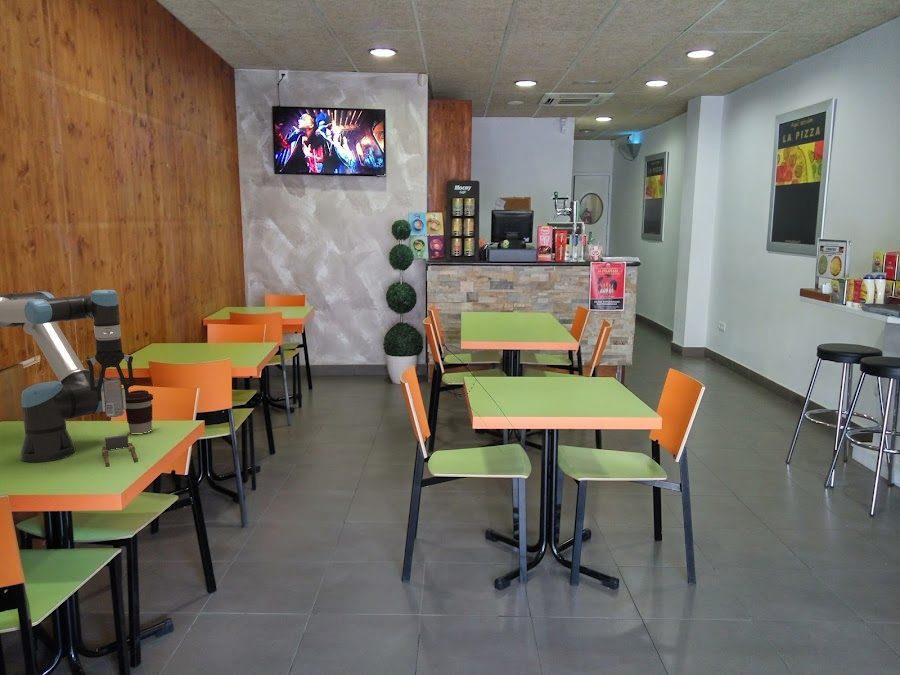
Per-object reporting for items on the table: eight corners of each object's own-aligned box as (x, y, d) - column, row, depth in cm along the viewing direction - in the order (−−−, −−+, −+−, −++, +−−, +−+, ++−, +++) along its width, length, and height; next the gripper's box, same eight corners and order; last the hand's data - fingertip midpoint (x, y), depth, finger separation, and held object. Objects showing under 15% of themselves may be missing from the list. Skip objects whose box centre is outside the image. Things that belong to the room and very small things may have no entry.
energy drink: (117, 412, 230) (114, 376, 228) (127, 414, 227) (124, 378, 225) (102, 416, 225) (98, 379, 223) (112, 418, 222) (109, 381, 221)
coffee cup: (134, 429, 257) (130, 389, 255) (160, 428, 257) (157, 388, 255) (120, 436, 247) (116, 395, 245) (148, 436, 247) (144, 394, 245)
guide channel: (105, 467, 213) (104, 462, 213) (101, 450, 231) (100, 446, 231) (139, 461, 218) (138, 457, 218) (132, 445, 235) (132, 441, 235)
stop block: (106, 450, 231) (105, 439, 230) (105, 449, 232) (104, 437, 232) (128, 447, 234) (127, 435, 233) (128, 445, 236) (127, 434, 235)
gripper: (75, 342, 215) (82, 415, 218) (140, 337, 223) (146, 408, 227) (75, 339, 221) (82, 410, 225) (138, 334, 230) (143, 403, 233)
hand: (114, 409), depth 226 cm, fingers closed on energy drink, 5 cm apart
